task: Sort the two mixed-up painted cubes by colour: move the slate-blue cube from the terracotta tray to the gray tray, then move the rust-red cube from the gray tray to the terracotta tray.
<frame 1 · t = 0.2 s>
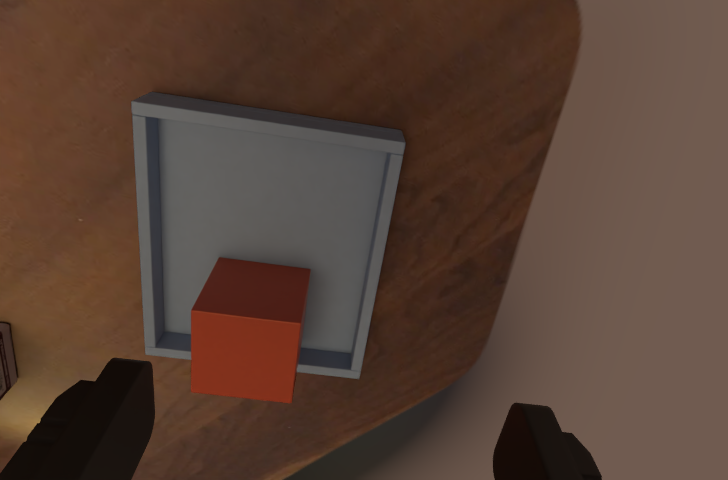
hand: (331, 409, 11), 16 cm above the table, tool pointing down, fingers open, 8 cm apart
gray tray: (268, 239, 27), on the table
rust cube: (262, 300, 28), point 1 cm above the table, touching gray tray
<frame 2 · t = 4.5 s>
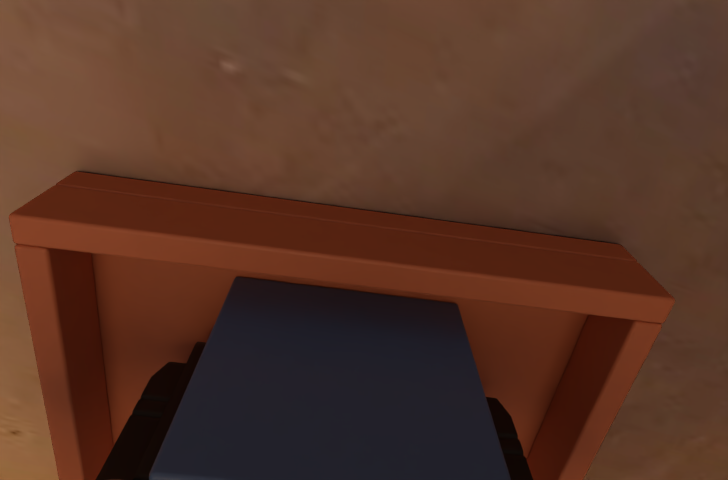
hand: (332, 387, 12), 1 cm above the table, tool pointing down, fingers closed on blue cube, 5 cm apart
blue cube: (334, 374, 12), point 1 cm above the table, touching gripper, terracotta tray
terracotta tray: (323, 434, 14), on the table
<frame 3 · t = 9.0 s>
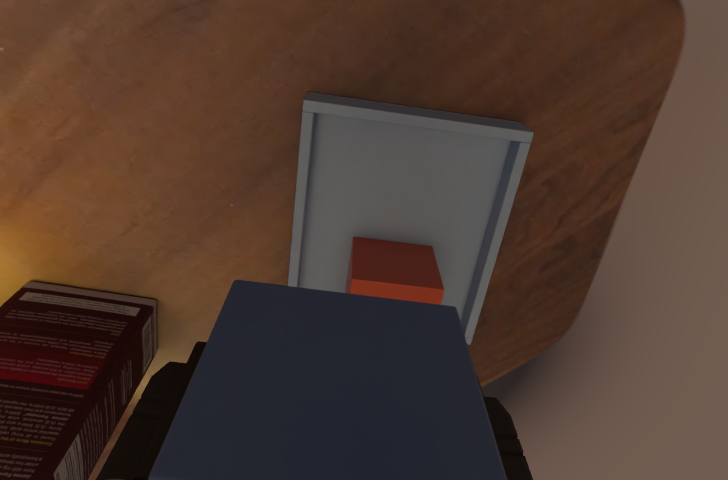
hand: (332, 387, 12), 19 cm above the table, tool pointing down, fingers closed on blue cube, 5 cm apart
supplement box: (99, 315, 34), on the table
blue cube: (333, 376, 12), point 19 cm above the table, touching gripper
gray tray: (395, 221, 31), on the table
rust cube: (386, 275, 32), point 1 cm above the table, touching gray tray
when the fingers open (1 cm above the table, at t = 13.6 s): blue cube stays where it is, resting on gray tray.
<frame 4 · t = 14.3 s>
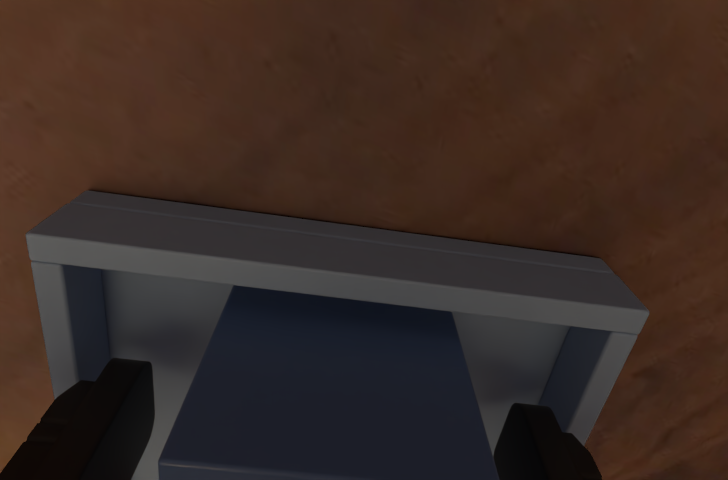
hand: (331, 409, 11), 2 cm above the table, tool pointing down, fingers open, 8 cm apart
blue cube: (332, 371, 13), point 1 cm above the table, touching gray tray
gray tray: (320, 438, 15), on the table
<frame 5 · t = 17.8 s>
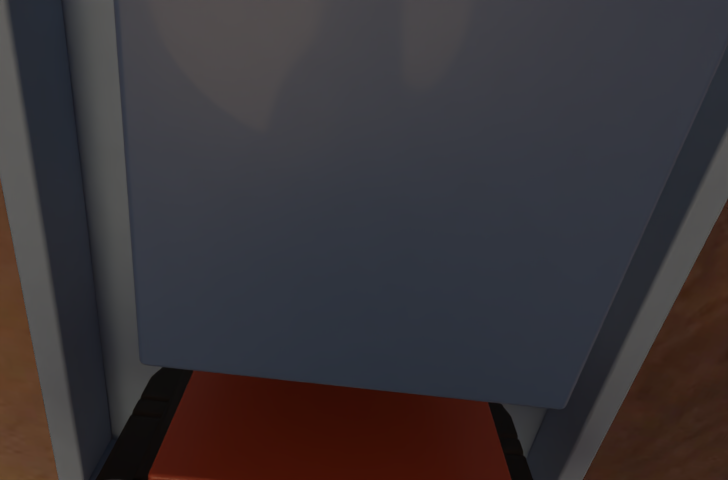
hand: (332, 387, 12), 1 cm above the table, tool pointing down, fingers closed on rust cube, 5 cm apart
blue cube: (378, 90, 9), point 1 cm above the table, touching gray tray
gray tray: (354, 232, 11), on the table
rust cube: (334, 374, 12), point 1 cm above the table, touching gray tray, gripper
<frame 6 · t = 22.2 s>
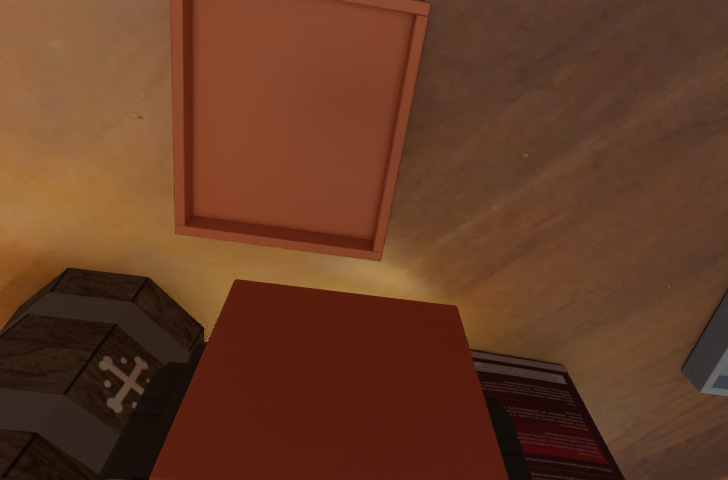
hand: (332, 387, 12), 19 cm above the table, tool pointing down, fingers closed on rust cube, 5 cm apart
supplement box: (500, 378, 37), on the table
mug: (136, 376, 37), on the table
terracotta tray: (294, 120, 28), on the table
rust cube: (334, 376, 12), point 19 cm above the table, touching gripper
when the fingers open (1 cm above the table, at t = 26.9 s): rust cube stays where it is, resting on terracotta tray.
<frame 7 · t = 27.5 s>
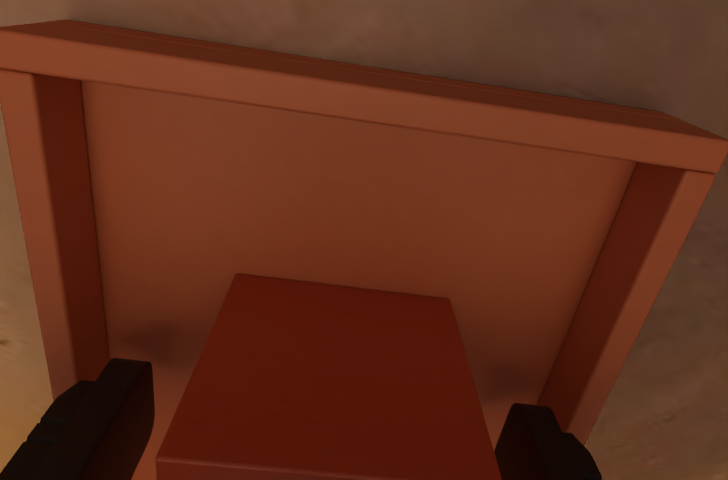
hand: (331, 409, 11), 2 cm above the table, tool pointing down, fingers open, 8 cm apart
terracotta tray: (334, 344, 13), on the table
rust cube: (332, 368, 13), point 1 cm above the table, touching terracotta tray
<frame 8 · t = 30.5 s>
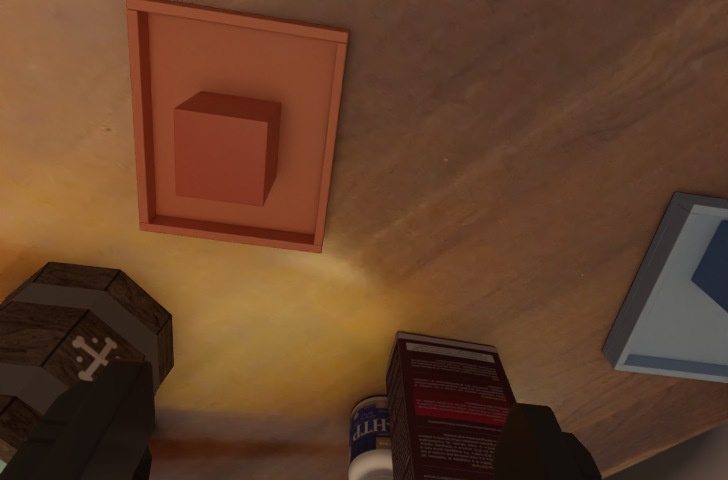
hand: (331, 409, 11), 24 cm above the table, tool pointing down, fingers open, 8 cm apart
supplement box: (440, 359, 42), on the table
mug: (112, 360, 41), on the table
terracotta tray: (242, 130, 33), on the table
gray tray: (710, 287, 38), on the table
rust cube: (239, 135, 32), point 1 cm above the table, touching terracotta tray
pill bottle: (379, 414, 44), on the table
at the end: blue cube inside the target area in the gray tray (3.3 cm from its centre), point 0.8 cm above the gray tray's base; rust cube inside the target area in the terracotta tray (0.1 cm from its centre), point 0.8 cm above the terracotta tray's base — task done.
